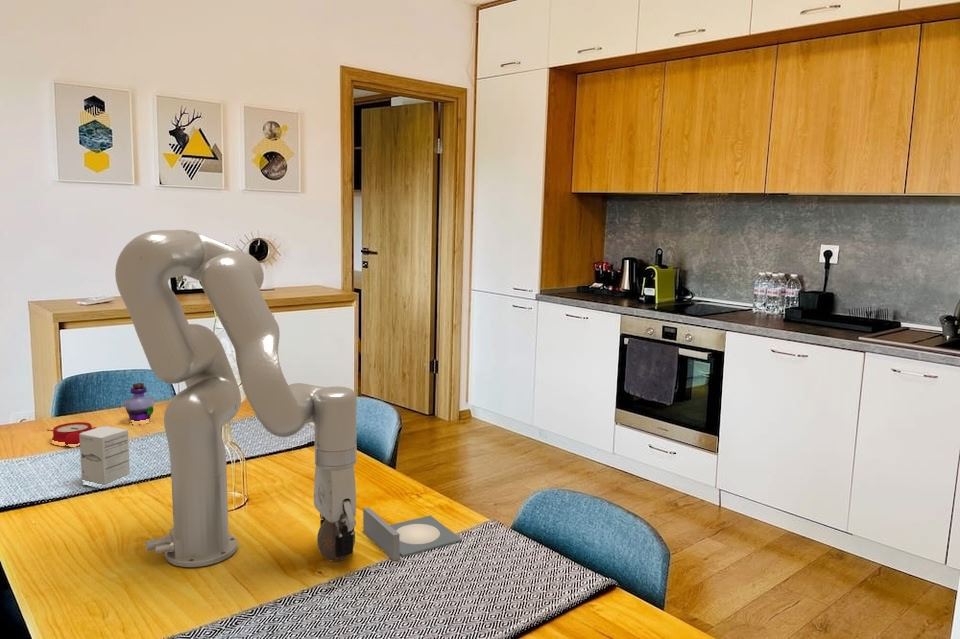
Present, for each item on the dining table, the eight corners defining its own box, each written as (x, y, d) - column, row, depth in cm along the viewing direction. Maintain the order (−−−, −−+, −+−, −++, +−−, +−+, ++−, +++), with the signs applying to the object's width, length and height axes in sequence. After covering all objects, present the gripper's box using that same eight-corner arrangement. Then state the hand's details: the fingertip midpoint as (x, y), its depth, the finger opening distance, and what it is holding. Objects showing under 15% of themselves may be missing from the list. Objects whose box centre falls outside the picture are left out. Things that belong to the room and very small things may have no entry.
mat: (402, 557, 132) (402, 554, 132) (373, 530, 142) (373, 528, 142) (462, 541, 139) (462, 539, 139) (430, 517, 149) (430, 515, 149)
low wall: (393, 561, 130) (393, 535, 129) (363, 531, 142) (363, 508, 141) (399, 559, 131) (399, 533, 130) (368, 530, 142) (368, 507, 142)
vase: (346, 567, 127) (346, 521, 126) (311, 562, 129) (310, 517, 127) (360, 550, 134) (360, 506, 133) (326, 545, 135) (326, 502, 134)
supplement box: (80, 486, 162) (77, 433, 160) (108, 475, 168) (105, 424, 167) (104, 491, 159) (101, 437, 157) (131, 480, 166) (128, 428, 164)
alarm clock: (78, 420, 200) (107, 417, 192) (82, 441, 200) (112, 439, 192) (40, 429, 191) (69, 426, 183) (44, 451, 192) (73, 449, 184)
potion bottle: (151, 426, 207) (149, 386, 205) (120, 427, 206) (118, 387, 204) (159, 418, 216) (157, 380, 214) (128, 419, 214) (127, 380, 212)
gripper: (300, 444, 134) (301, 533, 136) (333, 473, 119) (334, 572, 122) (337, 438, 138) (338, 525, 140) (374, 466, 123) (374, 561, 126)
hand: (336, 546), depth 131 cm, fingers closed on vase, 6 cm apart
